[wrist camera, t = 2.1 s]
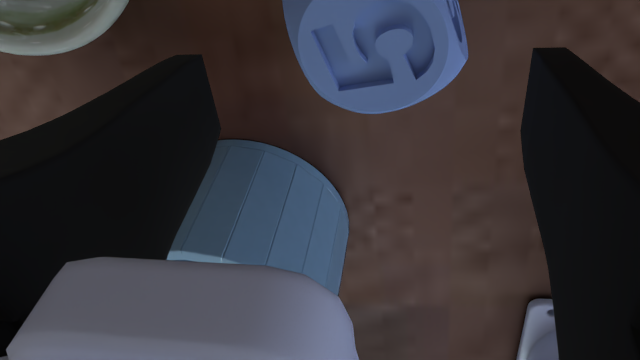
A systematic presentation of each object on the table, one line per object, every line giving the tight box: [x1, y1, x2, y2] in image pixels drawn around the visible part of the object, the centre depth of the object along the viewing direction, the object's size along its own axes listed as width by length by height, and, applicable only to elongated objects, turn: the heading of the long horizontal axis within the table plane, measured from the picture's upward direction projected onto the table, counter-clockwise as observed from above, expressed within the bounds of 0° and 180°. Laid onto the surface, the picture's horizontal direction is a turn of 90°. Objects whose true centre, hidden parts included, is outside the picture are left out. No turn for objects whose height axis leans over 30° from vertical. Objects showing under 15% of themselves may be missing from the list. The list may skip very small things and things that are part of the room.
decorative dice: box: [282, 0, 468, 114], centre depth 16 cm, size 4×4×4 cm
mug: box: [167, 139, 349, 297], centre depth 23 cm, size 11×8×6 cm
